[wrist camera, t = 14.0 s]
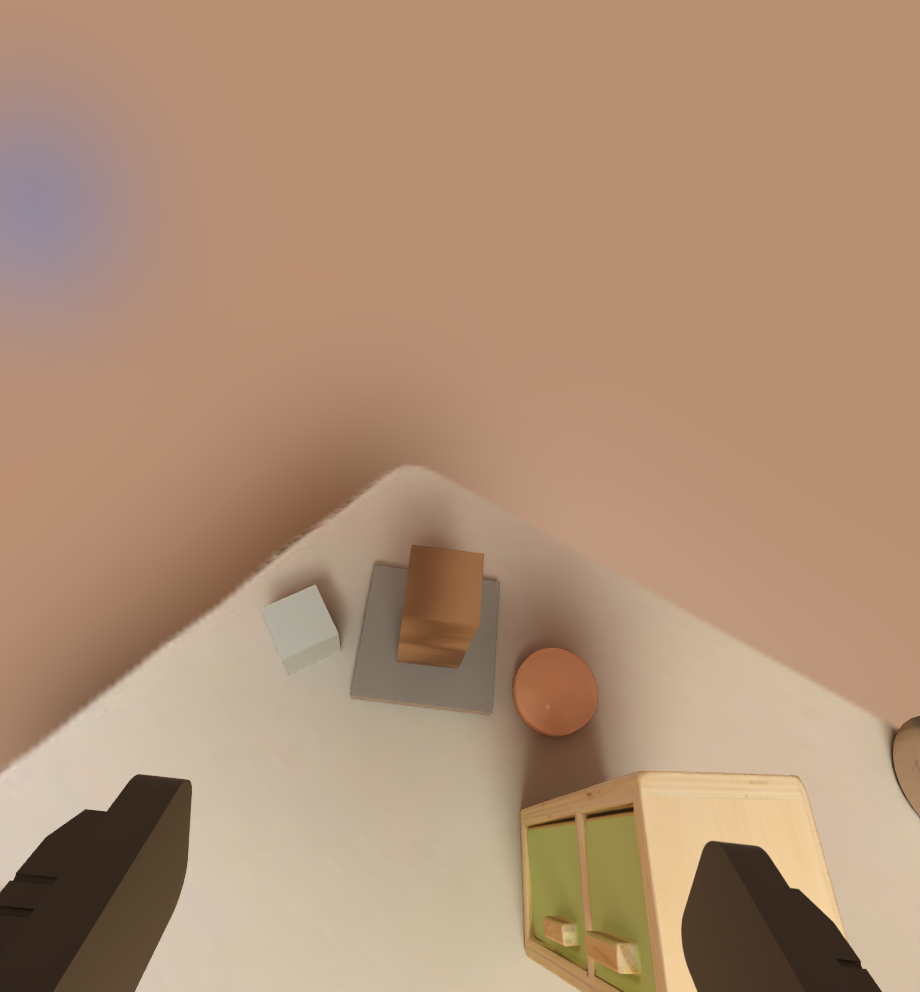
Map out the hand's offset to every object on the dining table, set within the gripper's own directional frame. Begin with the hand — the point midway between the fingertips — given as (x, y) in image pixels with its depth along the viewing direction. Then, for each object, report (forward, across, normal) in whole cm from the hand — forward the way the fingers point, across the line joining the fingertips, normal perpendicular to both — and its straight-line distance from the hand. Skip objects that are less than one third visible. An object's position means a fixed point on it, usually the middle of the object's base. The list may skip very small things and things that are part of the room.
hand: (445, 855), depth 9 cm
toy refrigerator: (+23, -11, +24) cm, 35 cm away
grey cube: (+32, +8, +14) cm, 36 cm away
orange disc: (+31, -10, +15) cm, 36 cm away
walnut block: (+32, -1, +13) cm, 35 cm away
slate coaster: (+33, -1, +13) cm, 35 cm away
